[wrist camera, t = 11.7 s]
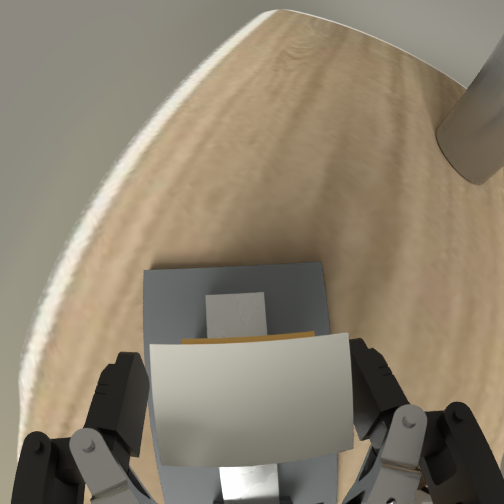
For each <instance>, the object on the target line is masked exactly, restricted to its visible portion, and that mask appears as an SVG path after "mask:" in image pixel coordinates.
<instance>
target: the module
mask: <svg viewBox="0 0 504 504" xmlns="http://www.w3.org/2000/svg"><path fill="white" fill-rule="evenodd" d="M181 344H182V345H164V344H150V366H151V382H152V394H153V405H154V415H155V423H156V432H157V439H158V446H159V453H160V459H161V465H164V466H177V467H204V468H217V467H245V466H258V465H268V464H277V463H285V462H292V461H298V460H304V459H310V458H315V457H320V456H325V455H330V454H334V453H338V452H342V451H346V450H350V449H353V442H354V433H353V393H352V374H351V360H350V347H349V336H348V332H346V333H339V334H332V335H324V336H315V333H314V331H310V332H300V333H290V334H278V335H265V336H250V337H232V338H203V339H181Z"/></svg>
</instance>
